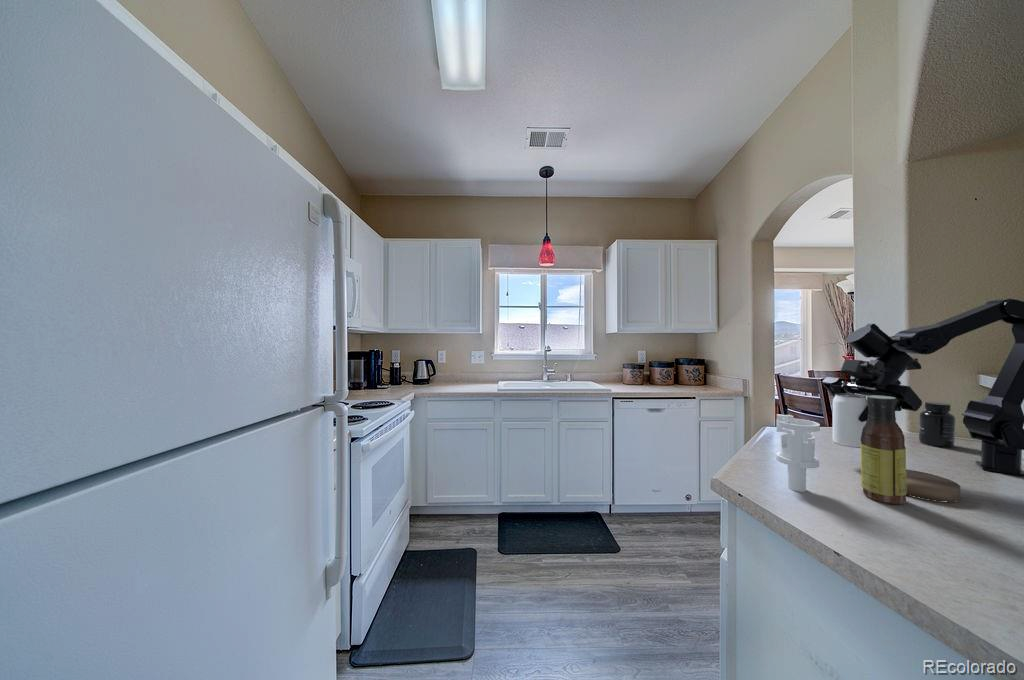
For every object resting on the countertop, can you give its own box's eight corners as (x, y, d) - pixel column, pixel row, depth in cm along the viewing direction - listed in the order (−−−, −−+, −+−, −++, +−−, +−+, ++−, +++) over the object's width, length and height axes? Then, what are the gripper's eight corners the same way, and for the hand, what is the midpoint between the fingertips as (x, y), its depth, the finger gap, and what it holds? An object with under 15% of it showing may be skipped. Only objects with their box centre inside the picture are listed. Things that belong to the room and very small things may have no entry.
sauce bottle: (893, 494, 74) (895, 395, 74) (915, 508, 68) (917, 400, 68) (852, 489, 76) (854, 393, 76) (870, 502, 70) (872, 398, 70)
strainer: (775, 479, 82) (776, 411, 81) (816, 486, 78) (818, 415, 77) (775, 490, 76) (776, 417, 76) (820, 499, 72) (821, 422, 71)
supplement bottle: (911, 441, 110) (912, 401, 110) (932, 440, 111) (933, 400, 110) (940, 448, 103) (941, 405, 103) (962, 448, 104) (963, 405, 104)
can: (876, 449, 86) (876, 397, 86) (843, 447, 87) (843, 396, 87) (856, 441, 92) (856, 393, 92) (826, 440, 94) (826, 392, 94)
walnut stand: (877, 475, 84) (877, 464, 84) (951, 488, 77) (952, 476, 77) (883, 491, 75) (883, 479, 75) (967, 508, 68) (967, 494, 68)
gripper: (827, 346, 99) (790, 388, 98) (911, 349, 81) (867, 401, 79) (853, 375, 100) (816, 417, 99) (941, 384, 82) (898, 436, 81)
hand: (845, 417), depth 90 cm, fingers closed on can, 6 cm apart
